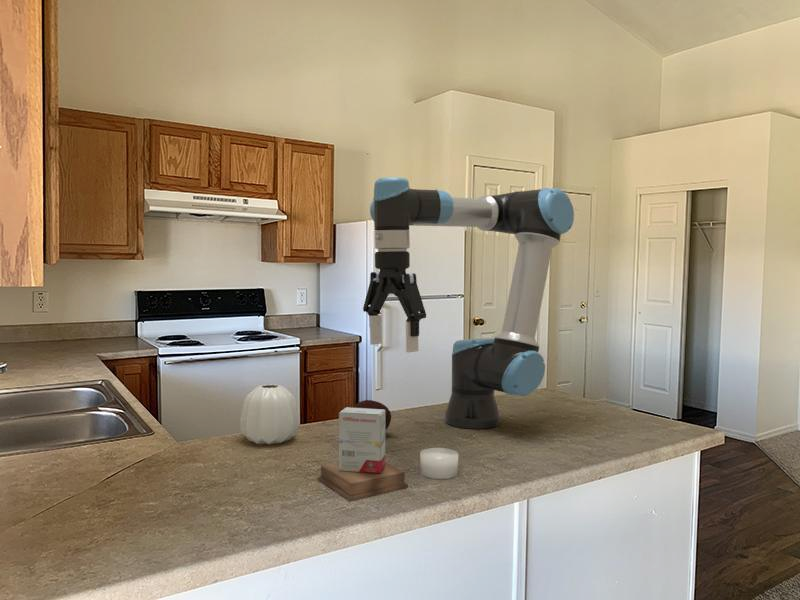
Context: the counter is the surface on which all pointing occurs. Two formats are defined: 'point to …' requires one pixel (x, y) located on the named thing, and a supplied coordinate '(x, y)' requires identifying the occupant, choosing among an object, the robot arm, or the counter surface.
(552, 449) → the counter surface
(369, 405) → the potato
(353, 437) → the ink box
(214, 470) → the counter surface
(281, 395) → the vase
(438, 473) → the white dome button
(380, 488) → the podium
